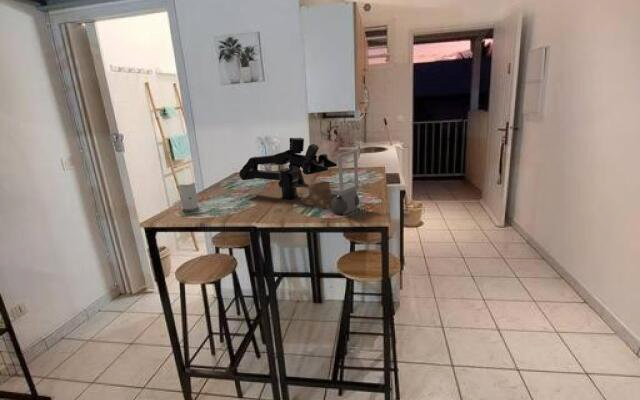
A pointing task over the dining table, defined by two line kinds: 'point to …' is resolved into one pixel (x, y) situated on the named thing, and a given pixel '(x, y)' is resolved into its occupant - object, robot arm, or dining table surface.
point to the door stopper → (300, 180)
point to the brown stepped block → (319, 195)
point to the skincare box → (188, 195)
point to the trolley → (345, 189)
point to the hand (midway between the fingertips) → (332, 167)
